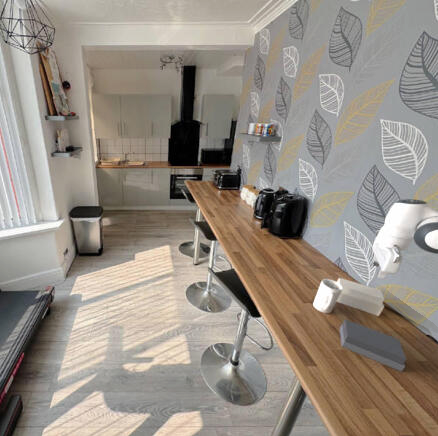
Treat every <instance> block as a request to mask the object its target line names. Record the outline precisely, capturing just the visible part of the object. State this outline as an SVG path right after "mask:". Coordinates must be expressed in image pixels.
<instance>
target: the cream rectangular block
mask: <svg viewBox="0 0 438 436" xmlns="http://www.w3.org/2000/svg"><path fill="white" fill-rule="evenodd" d="M336 281H337V282H338V283H339V284H340V285H341V286H342V287H343V289H342V292H346V293H349V294H352V295H355V296H358V297H361V298H364V299H367V300H370V301H373V302H376V303H379V304H382V303H383V302H384V301H385V297H384V294H383V292H382V290H381V289H378V288H375V287H372V286H368V285H365V284H361V283H358V282H355V281H351V280H348V279H345V278H342V277H338V279H337V280H336ZM383 304H384V303H383Z"/></svg>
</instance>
